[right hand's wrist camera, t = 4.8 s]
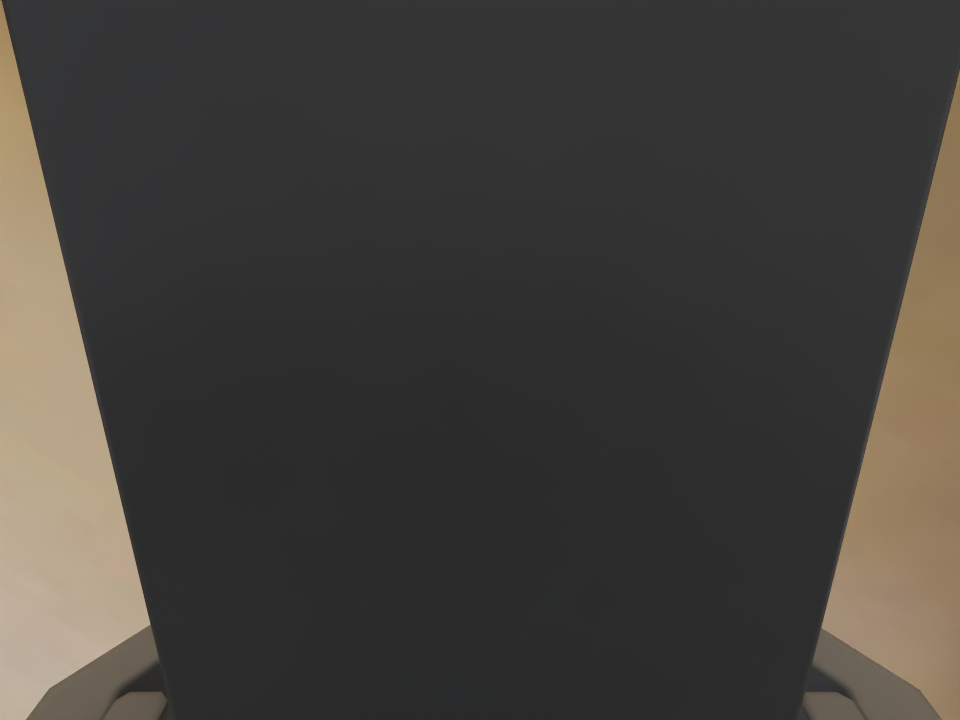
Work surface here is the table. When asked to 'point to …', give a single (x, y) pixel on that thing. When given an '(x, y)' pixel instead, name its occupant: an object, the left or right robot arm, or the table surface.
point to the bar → (487, 334)
